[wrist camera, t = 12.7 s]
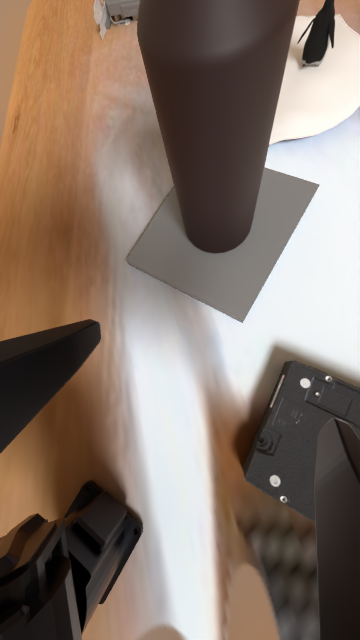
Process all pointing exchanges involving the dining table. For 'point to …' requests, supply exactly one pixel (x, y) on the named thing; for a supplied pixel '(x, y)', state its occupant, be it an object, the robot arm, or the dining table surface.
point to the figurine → (318, 76)
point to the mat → (232, 266)
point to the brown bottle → (216, 104)
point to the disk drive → (297, 433)
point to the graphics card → (114, 12)
